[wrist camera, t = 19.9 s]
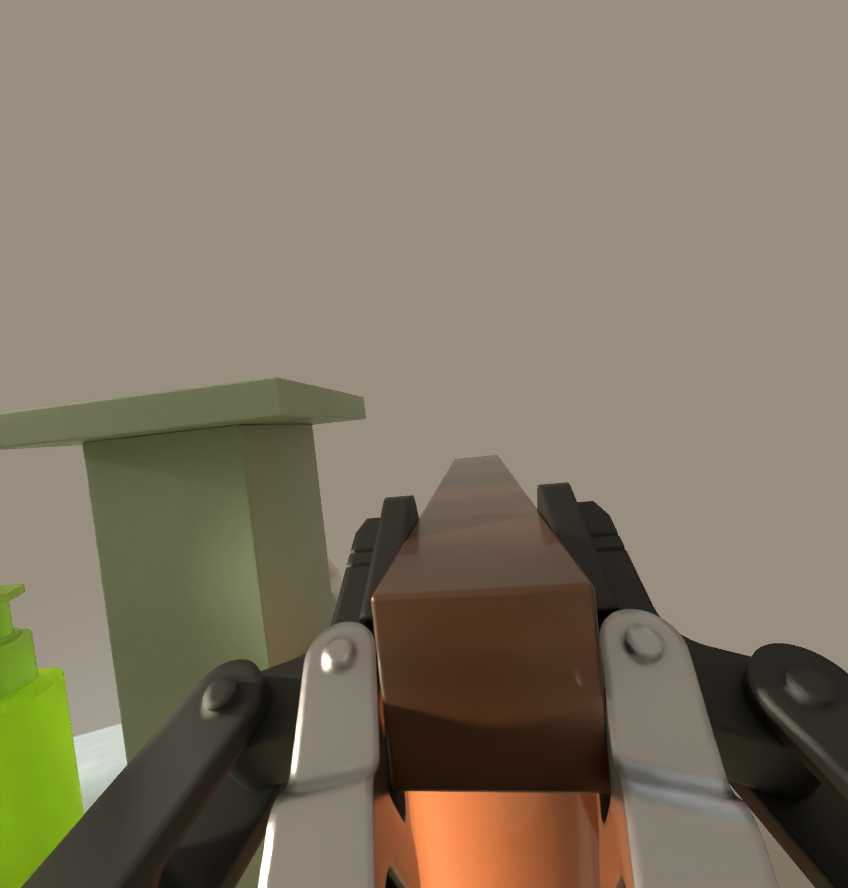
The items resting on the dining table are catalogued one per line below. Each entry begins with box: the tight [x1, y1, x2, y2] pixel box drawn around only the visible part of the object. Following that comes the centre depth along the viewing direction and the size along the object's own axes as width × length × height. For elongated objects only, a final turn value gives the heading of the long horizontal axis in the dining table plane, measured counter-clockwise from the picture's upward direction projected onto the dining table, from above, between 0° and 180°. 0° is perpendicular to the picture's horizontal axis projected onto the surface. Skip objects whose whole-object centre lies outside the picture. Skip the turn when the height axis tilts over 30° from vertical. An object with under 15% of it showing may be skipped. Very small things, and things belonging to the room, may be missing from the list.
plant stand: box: [0, 377, 366, 888], centre depth 23 cm, size 14×14×30 cm
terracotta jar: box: [408, 791, 601, 888], centre depth 18 cm, size 9×9×20 cm
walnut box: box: [371, 455, 611, 794], centre depth 18 cm, size 24×3×3 cm, turn 173°
